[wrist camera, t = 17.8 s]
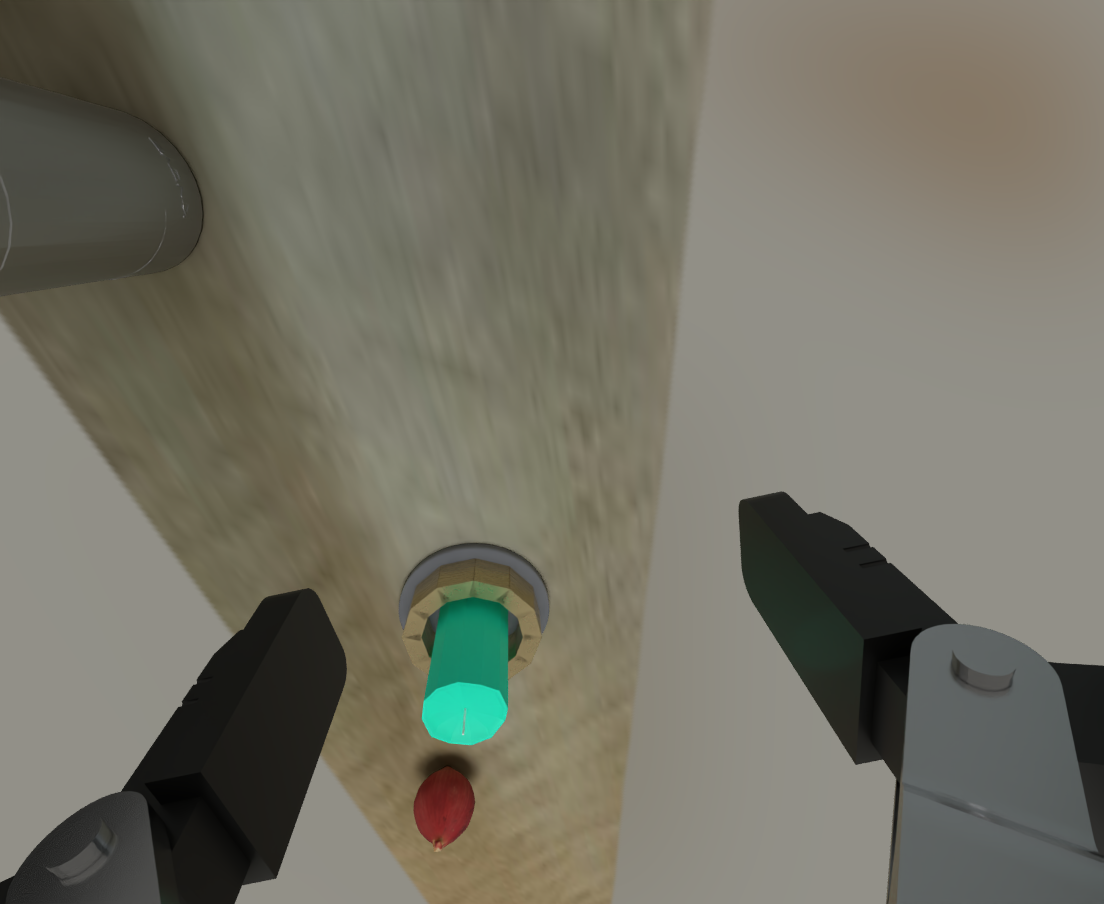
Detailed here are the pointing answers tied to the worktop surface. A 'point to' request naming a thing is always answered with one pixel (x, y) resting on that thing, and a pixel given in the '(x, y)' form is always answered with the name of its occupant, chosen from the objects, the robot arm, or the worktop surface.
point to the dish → (483, 553)
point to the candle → (468, 672)
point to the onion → (444, 807)
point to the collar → (479, 583)
